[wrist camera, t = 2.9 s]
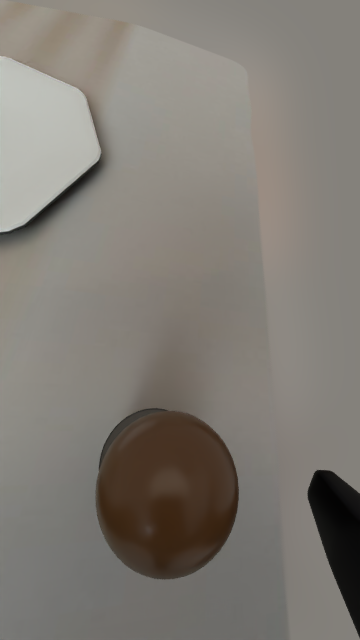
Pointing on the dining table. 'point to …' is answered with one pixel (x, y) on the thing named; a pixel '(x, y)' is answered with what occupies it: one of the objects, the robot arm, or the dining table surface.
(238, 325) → the dining table surface
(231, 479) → the coffee tamper
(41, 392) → the dining table surface
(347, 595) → the robot arm
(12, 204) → the plate
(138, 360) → the dining table surface
